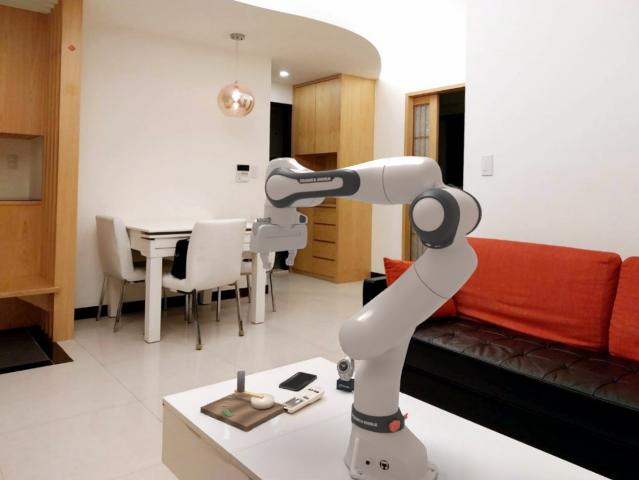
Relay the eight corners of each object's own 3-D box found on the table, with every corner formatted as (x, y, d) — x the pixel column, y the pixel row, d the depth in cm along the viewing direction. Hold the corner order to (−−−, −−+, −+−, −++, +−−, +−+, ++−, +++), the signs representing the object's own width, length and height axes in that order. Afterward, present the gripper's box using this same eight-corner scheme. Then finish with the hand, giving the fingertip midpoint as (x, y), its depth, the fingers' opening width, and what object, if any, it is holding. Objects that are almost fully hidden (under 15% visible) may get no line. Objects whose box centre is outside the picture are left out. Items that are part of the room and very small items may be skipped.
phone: (277, 385, 166) (299, 371, 180) (277, 388, 166) (299, 374, 180) (298, 390, 163) (318, 375, 176) (298, 393, 163) (318, 378, 176)
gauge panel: (286, 410, 149) (286, 405, 149) (246, 431, 135) (246, 425, 135) (241, 394, 160) (241, 389, 160) (200, 412, 146) (200, 406, 146)
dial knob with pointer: (278, 402, 150) (279, 375, 150) (266, 410, 144) (266, 383, 143) (241, 393, 156) (242, 367, 155) (228, 401, 150) (229, 374, 149)
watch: (333, 391, 165) (334, 359, 164) (344, 383, 172) (345, 352, 171) (348, 394, 162) (349, 362, 161) (358, 386, 169) (360, 355, 168)
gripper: (262, 218, 125) (260, 272, 127) (311, 217, 141) (309, 264, 143) (244, 217, 129) (243, 269, 130) (294, 215, 145) (293, 262, 147)
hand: (278, 266), depth 137 cm, fingers open, 8 cm apart
